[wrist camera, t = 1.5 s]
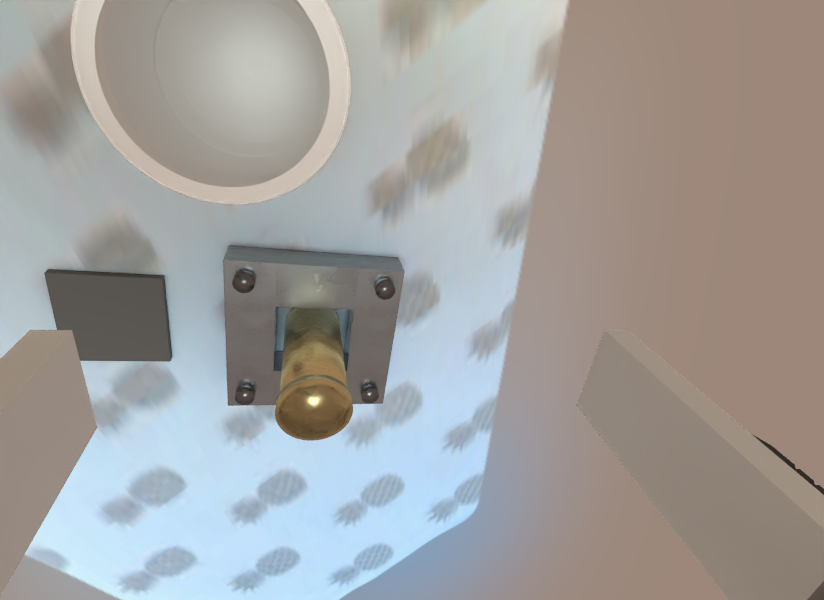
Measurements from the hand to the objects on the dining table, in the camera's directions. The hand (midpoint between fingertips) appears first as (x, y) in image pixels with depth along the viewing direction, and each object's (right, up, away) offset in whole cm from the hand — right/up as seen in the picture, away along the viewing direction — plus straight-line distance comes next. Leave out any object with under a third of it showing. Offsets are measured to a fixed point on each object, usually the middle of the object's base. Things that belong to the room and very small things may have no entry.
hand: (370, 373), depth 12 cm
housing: (-8, 0, +29) cm, 30 cm away
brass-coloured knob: (-8, 0, +29) cm, 30 cm away
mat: (-24, +1, +25) cm, 35 cm away
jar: (-10, +18, +20) cm, 28 cm away
